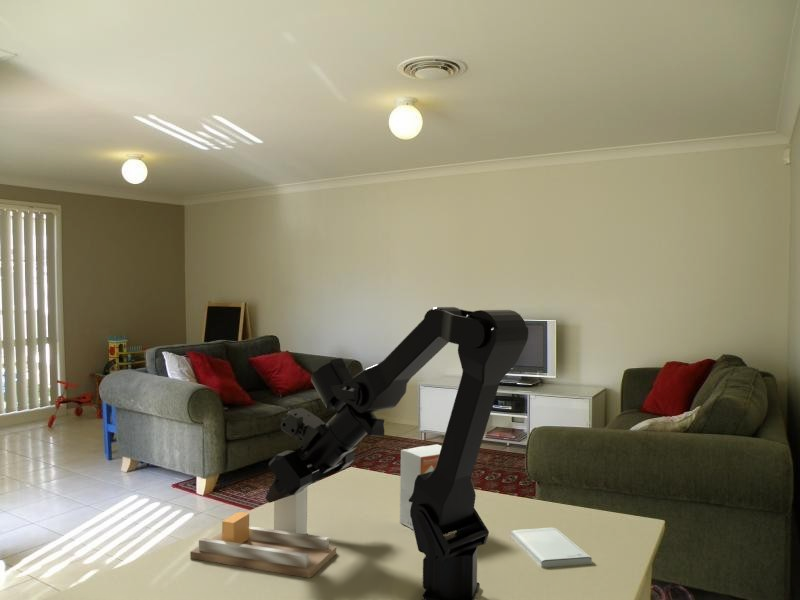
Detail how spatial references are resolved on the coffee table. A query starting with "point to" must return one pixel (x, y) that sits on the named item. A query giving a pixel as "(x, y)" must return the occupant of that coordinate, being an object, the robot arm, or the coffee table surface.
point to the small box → (414, 474)
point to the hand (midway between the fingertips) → (283, 492)
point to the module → (291, 513)
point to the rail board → (269, 551)
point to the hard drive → (550, 547)
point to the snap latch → (236, 528)
